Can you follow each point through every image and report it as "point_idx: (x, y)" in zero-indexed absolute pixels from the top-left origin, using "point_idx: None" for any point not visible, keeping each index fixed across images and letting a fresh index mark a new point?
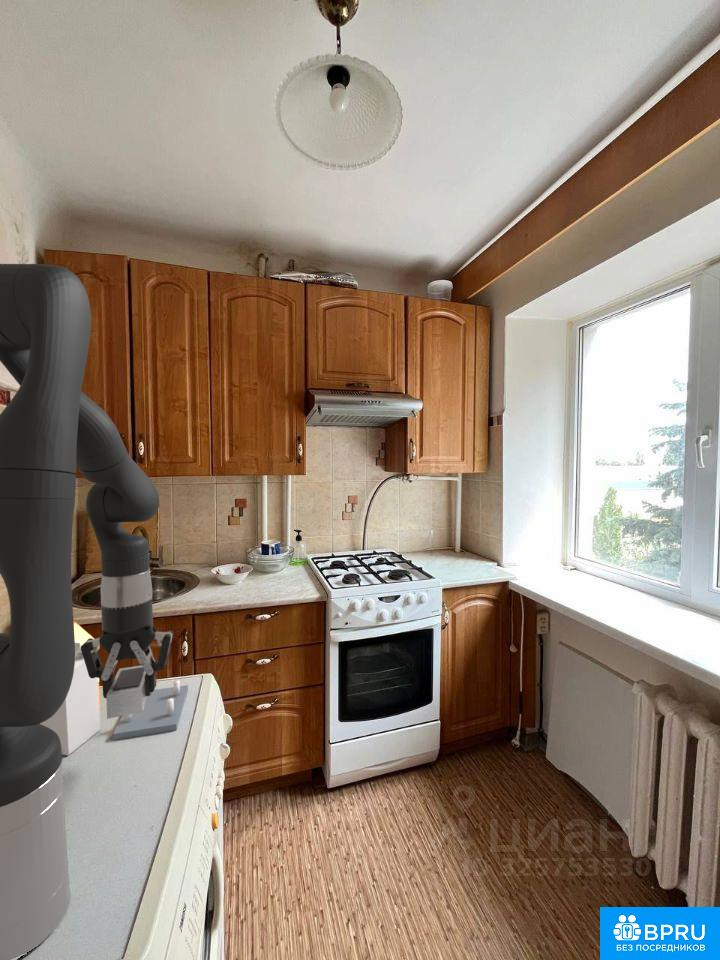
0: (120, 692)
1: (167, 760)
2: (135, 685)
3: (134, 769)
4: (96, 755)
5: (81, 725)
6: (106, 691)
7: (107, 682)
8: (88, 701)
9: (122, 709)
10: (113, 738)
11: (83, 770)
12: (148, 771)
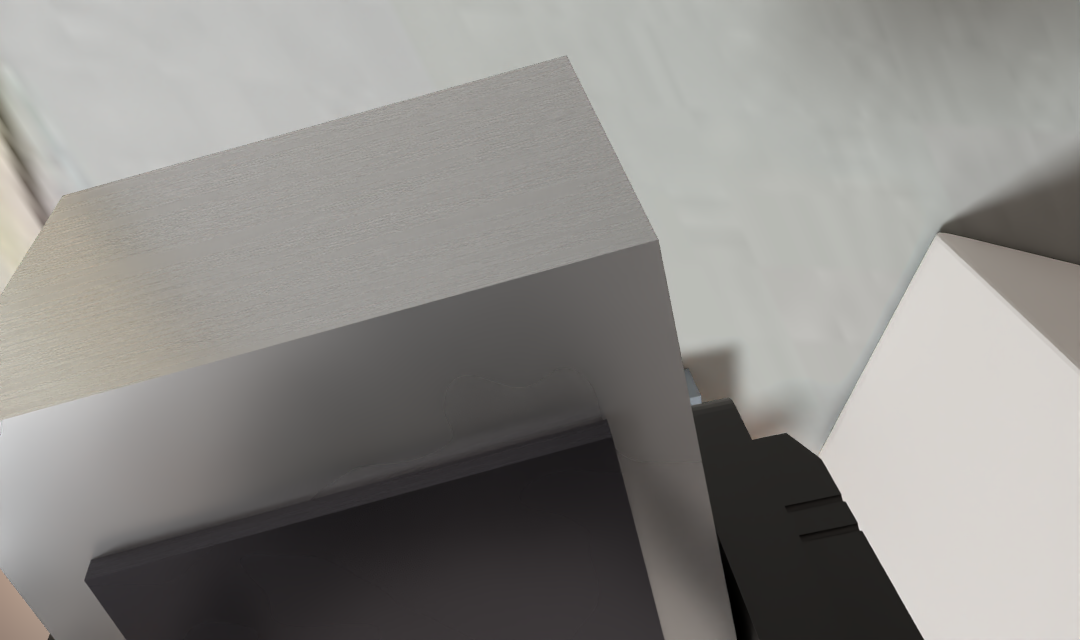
0: (374, 341)
1: (147, 152)
2: (156, 560)
3: (375, 69)
4: (741, 230)
5: (950, 414)
6: (791, 512)
7: (821, 627)
8: (991, 584)
9: (342, 158)
10: (688, 375)
11: (771, 85)
12: (242, 39)
